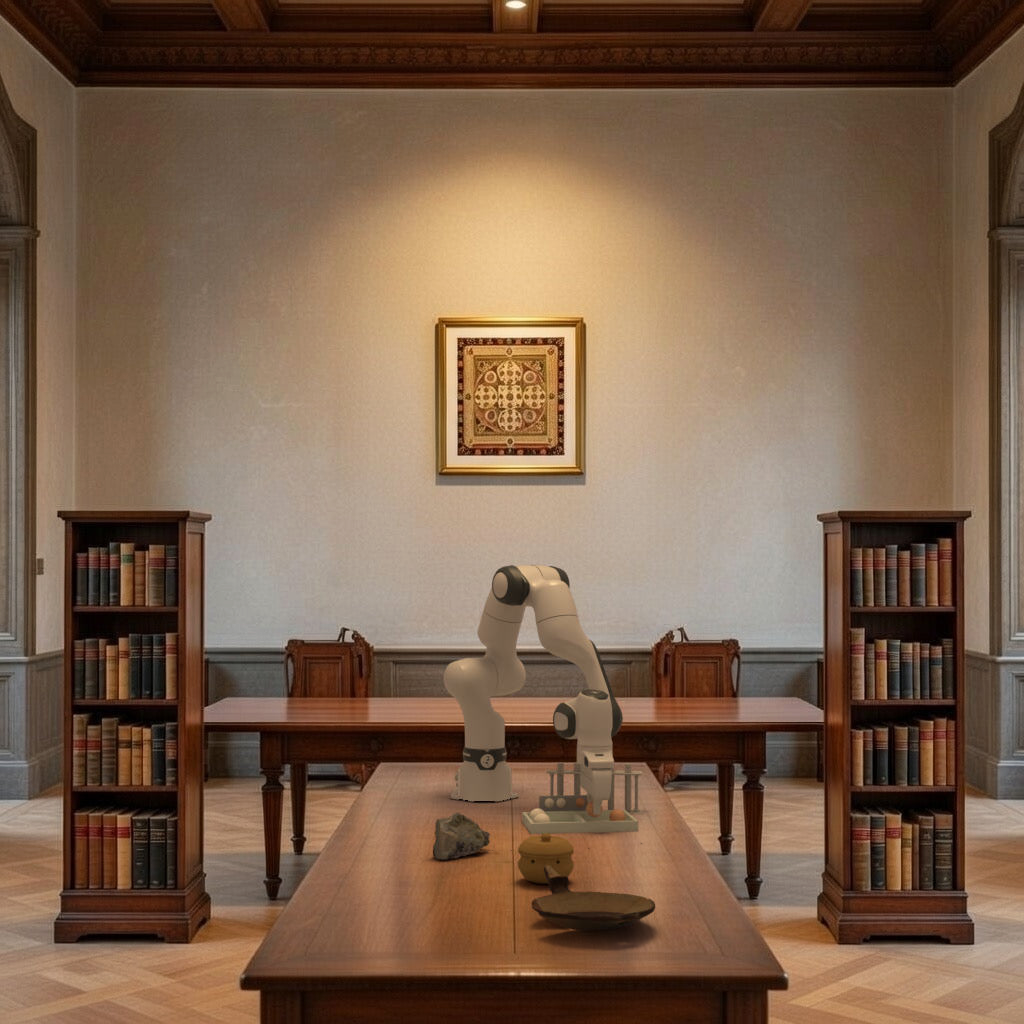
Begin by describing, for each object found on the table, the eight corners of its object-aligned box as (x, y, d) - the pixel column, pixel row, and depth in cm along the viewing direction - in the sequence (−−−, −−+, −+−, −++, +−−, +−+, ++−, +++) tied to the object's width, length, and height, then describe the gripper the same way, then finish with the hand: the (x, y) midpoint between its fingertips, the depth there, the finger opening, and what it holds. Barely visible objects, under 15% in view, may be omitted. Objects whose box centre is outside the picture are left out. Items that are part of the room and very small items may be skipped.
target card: (539, 819, 353) (539, 795, 353) (600, 818, 355) (600, 794, 355) (539, 820, 352) (539, 796, 352) (601, 819, 354) (601, 795, 354)
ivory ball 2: (532, 828, 338) (532, 812, 339) (548, 828, 339) (548, 811, 339) (535, 831, 335) (535, 815, 335) (551, 831, 335) (551, 814, 335)
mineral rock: (489, 851, 316) (490, 807, 316) (490, 862, 305) (491, 816, 305) (433, 851, 315) (433, 807, 315) (432, 862, 304) (432, 816, 305)
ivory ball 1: (528, 823, 345) (528, 807, 345) (544, 822, 346) (544, 806, 346) (530, 826, 341) (531, 810, 341) (546, 826, 342) (546, 809, 342)
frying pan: (540, 949, 239) (540, 904, 239) (522, 904, 269) (523, 865, 269) (667, 946, 241) (667, 902, 241) (636, 902, 271) (636, 863, 271)
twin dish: (522, 824, 347) (522, 812, 347) (625, 821, 351) (625, 809, 351) (531, 836, 332) (531, 823, 332) (638, 833, 336) (638, 821, 336)
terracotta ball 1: (584, 816, 344) (585, 799, 344) (600, 815, 344) (600, 799, 344) (588, 819, 340) (588, 802, 340) (604, 818, 340) (604, 802, 341)
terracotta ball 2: (607, 824, 344) (607, 807, 345) (623, 823, 345) (623, 807, 345) (611, 827, 341) (611, 810, 341) (627, 826, 341) (627, 810, 341)
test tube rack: (641, 813, 363) (641, 762, 363) (642, 816, 358) (642, 765, 359) (546, 811, 365) (547, 761, 365) (545, 814, 360) (546, 763, 361)
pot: (534, 891, 279) (534, 841, 279) (507, 878, 289) (507, 830, 290) (584, 884, 284) (584, 836, 285) (556, 872, 295) (556, 825, 295)
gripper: (574, 750, 352) (574, 804, 352) (590, 762, 332) (589, 820, 332) (598, 750, 353) (598, 804, 353) (615, 762, 333) (615, 820, 333)
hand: (594, 812), depth 342 cm, fingers closed on terracotta ball 1, 4 cm apart
